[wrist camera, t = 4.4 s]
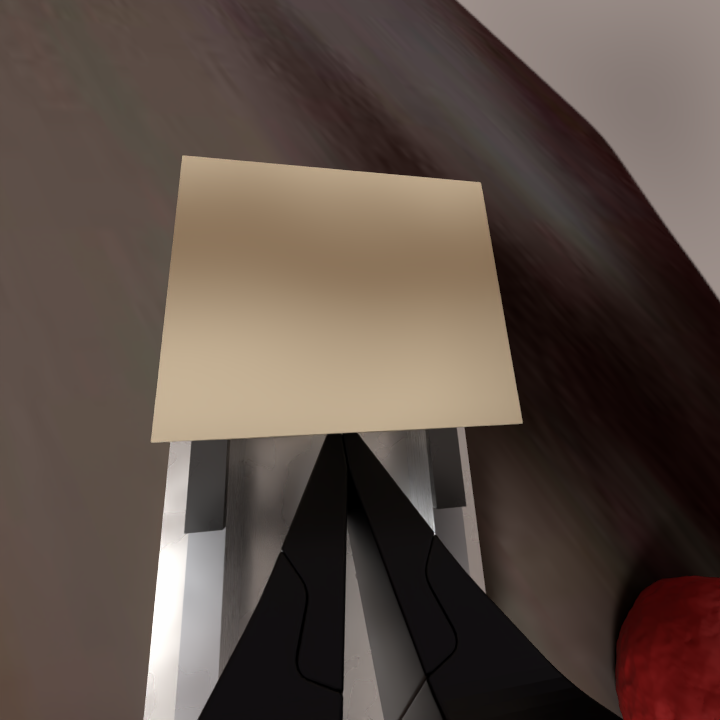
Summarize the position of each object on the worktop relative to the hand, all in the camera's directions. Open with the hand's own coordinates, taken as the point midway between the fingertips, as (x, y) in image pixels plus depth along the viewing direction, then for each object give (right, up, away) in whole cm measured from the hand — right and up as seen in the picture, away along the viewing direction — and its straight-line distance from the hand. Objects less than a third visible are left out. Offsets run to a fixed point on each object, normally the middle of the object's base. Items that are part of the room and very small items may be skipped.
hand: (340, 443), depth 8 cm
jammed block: (-1, +2, +7) cm, 7 cm away
